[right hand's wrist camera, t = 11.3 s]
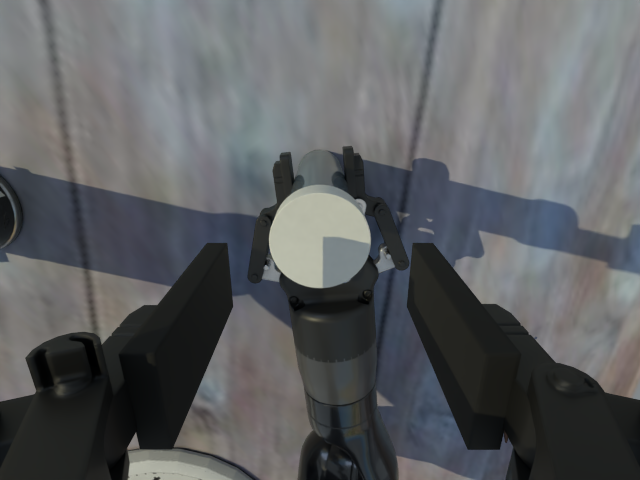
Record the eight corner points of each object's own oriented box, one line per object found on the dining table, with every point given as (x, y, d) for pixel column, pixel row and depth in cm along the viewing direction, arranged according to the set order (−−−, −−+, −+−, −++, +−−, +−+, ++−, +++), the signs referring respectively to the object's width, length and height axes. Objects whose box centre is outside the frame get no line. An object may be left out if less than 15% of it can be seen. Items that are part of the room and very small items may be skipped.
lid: (268, 187, 18) (263, 196, 17) (365, 181, 18) (370, 189, 17) (278, 275, 20) (274, 291, 18) (367, 270, 20) (371, 285, 18)
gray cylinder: (296, 151, 35) (272, 200, 17) (340, 148, 35) (361, 195, 17) (300, 194, 36) (281, 280, 19) (342, 191, 36) (363, 275, 19)
